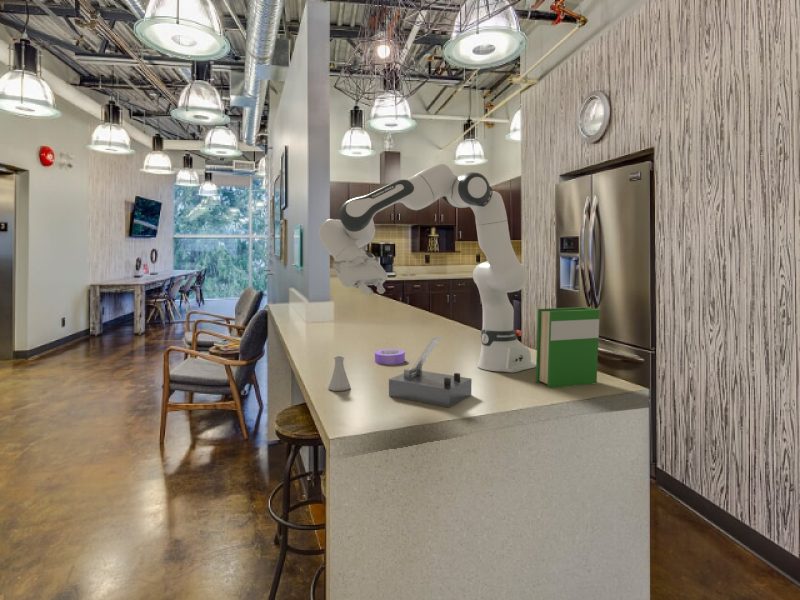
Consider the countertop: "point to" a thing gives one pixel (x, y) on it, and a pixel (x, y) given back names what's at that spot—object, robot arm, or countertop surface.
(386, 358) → the masking tape
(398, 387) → the lever switch box
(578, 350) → the hardback book
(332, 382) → the flask
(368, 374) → the countertop surface
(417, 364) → the switch lever
